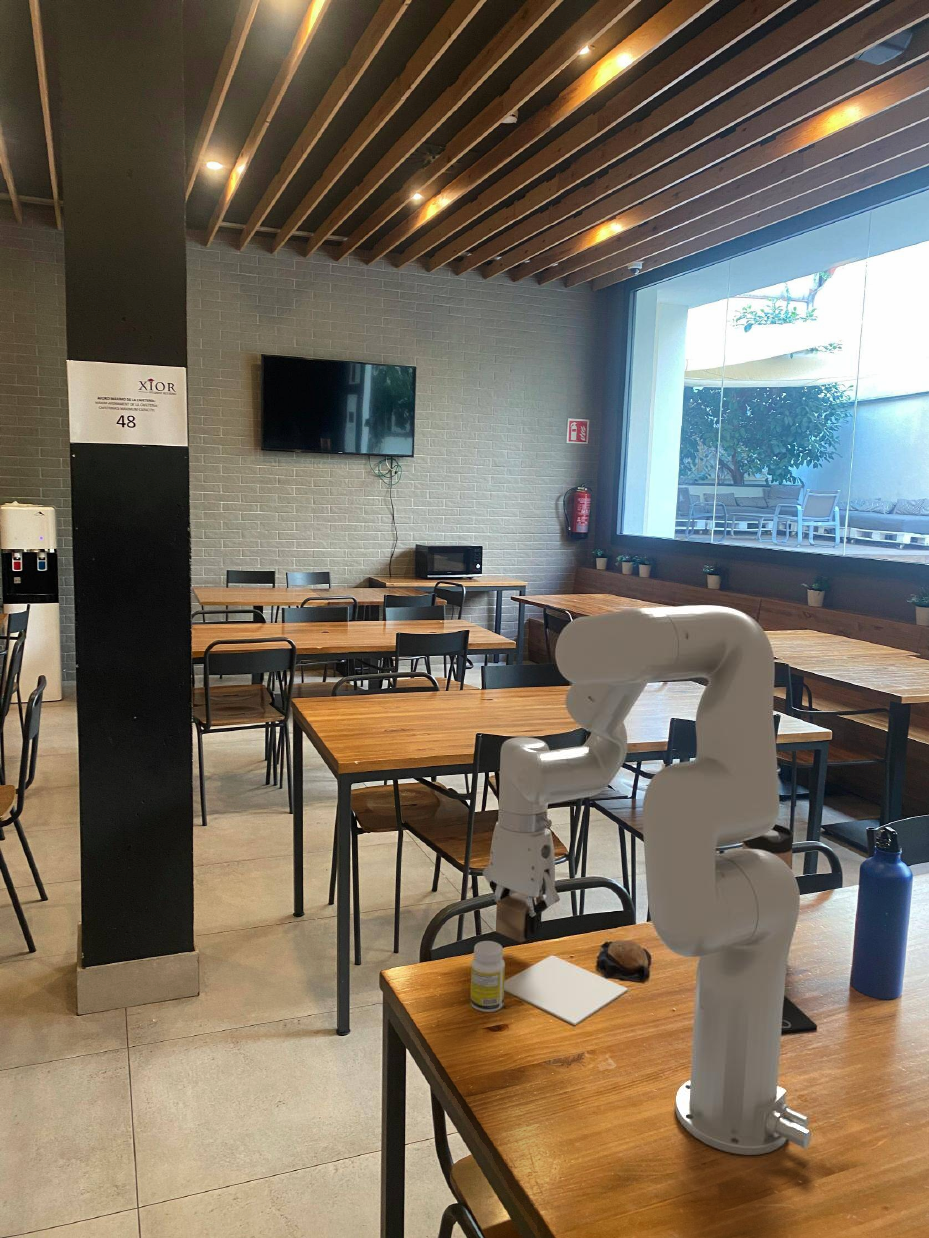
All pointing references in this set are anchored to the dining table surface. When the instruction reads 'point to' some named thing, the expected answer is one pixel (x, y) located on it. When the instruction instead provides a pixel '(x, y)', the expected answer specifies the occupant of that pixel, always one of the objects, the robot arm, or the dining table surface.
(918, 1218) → the dining table surface
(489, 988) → the supplement bottle
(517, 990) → the white square tile
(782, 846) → the travel mug
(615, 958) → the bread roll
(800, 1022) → the cell phone
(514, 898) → the walnut block
